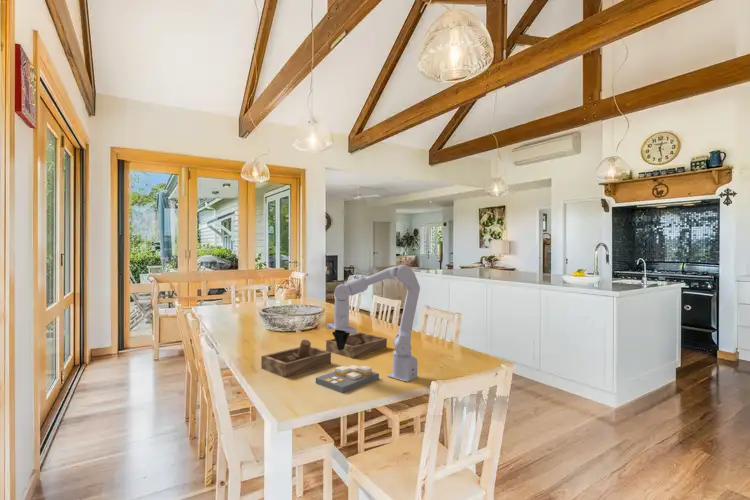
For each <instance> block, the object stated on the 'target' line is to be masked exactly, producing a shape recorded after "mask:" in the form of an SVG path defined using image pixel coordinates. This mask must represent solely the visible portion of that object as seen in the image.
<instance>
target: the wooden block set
mask: <svg viewBox="0 0 750 500" xmlns="http://www.w3.org/2000/svg"><path fill="white" fill-rule="evenodd" d="M311 344H312V343H311V342H310V341H309V340H307V339H302V340H301V341H300V345H299V346H298V347H299V351H298V354H296V353H292V355H290V356H287V357H286V360H285V363H288V362H291V361H295V360H299V359H302V358H306V357H307V355H308V352H309V348H310V346H311Z"/></svg>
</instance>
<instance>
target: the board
mask: <svg viewBox="0 0 750 500" xmlns="http://www.w3.org/2000/svg"><path fill="white" fill-rule="evenodd" d="M350 373H352V372H350ZM356 373H357V372H356ZM379 375H380V374H379V373H378V372H376V371H372V374H370V375H367V376H362V375H361V378H359V379H357V380H351V379H348V378H346V376H343V377H342V376H339V375H336V374H335V371H332V372H329V373H326V374H322V375H319V376H317V377H315V384H317V385H319V386H322V387H325V388H328V389H331V390H334V391H335V392H338V393H341V394H343V393H346V392H348V391H351V390H353V389H355V388H359V387H361V386H364V385H366V384H368V383H372V382H373V381H376V380H379V378H380V376H379Z"/></svg>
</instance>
